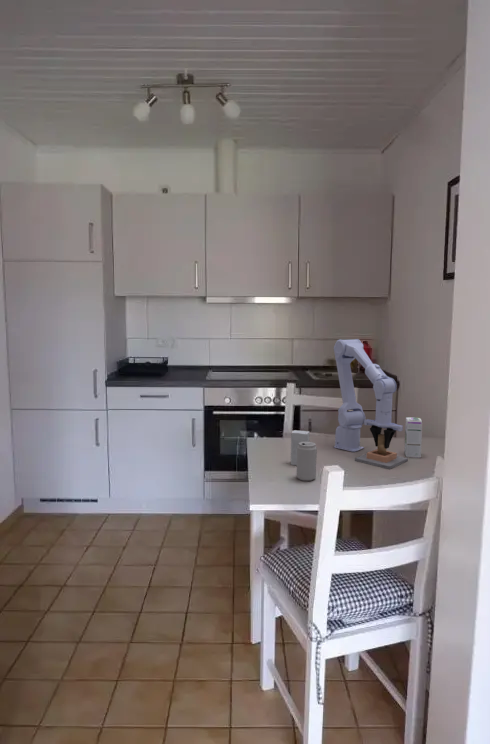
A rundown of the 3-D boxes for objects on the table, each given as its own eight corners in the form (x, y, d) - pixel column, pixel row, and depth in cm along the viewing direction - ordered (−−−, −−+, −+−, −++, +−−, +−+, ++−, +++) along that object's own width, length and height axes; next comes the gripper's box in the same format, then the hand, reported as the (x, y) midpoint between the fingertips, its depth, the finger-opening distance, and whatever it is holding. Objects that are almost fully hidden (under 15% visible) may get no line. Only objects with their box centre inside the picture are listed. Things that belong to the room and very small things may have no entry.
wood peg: (375, 453, 190) (376, 434, 189) (380, 451, 193) (380, 433, 192) (383, 455, 188) (384, 436, 187) (387, 453, 190) (388, 434, 189)
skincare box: (309, 463, 187) (310, 431, 185) (306, 466, 183) (307, 434, 181) (293, 461, 189) (293, 429, 187) (290, 464, 185) (290, 432, 183)
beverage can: (294, 475, 173) (295, 441, 171) (313, 475, 174) (314, 440, 172) (298, 482, 167) (299, 446, 165) (317, 481, 167) (318, 445, 166)
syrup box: (421, 458, 195) (423, 420, 193) (405, 457, 196) (407, 419, 194) (419, 453, 200) (421, 417, 198) (403, 452, 202) (405, 416, 200)
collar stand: (355, 460, 190) (355, 452, 190) (374, 453, 201) (374, 445, 200) (389, 469, 181) (390, 460, 181) (407, 460, 191) (408, 453, 191)
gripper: (360, 409, 190) (359, 445, 192) (396, 415, 180) (395, 453, 182) (370, 407, 195) (368, 441, 197) (406, 412, 186) (404, 449, 187)
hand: (382, 446), depth 190 cm, fingers closed on wood peg, 3 cm apart
